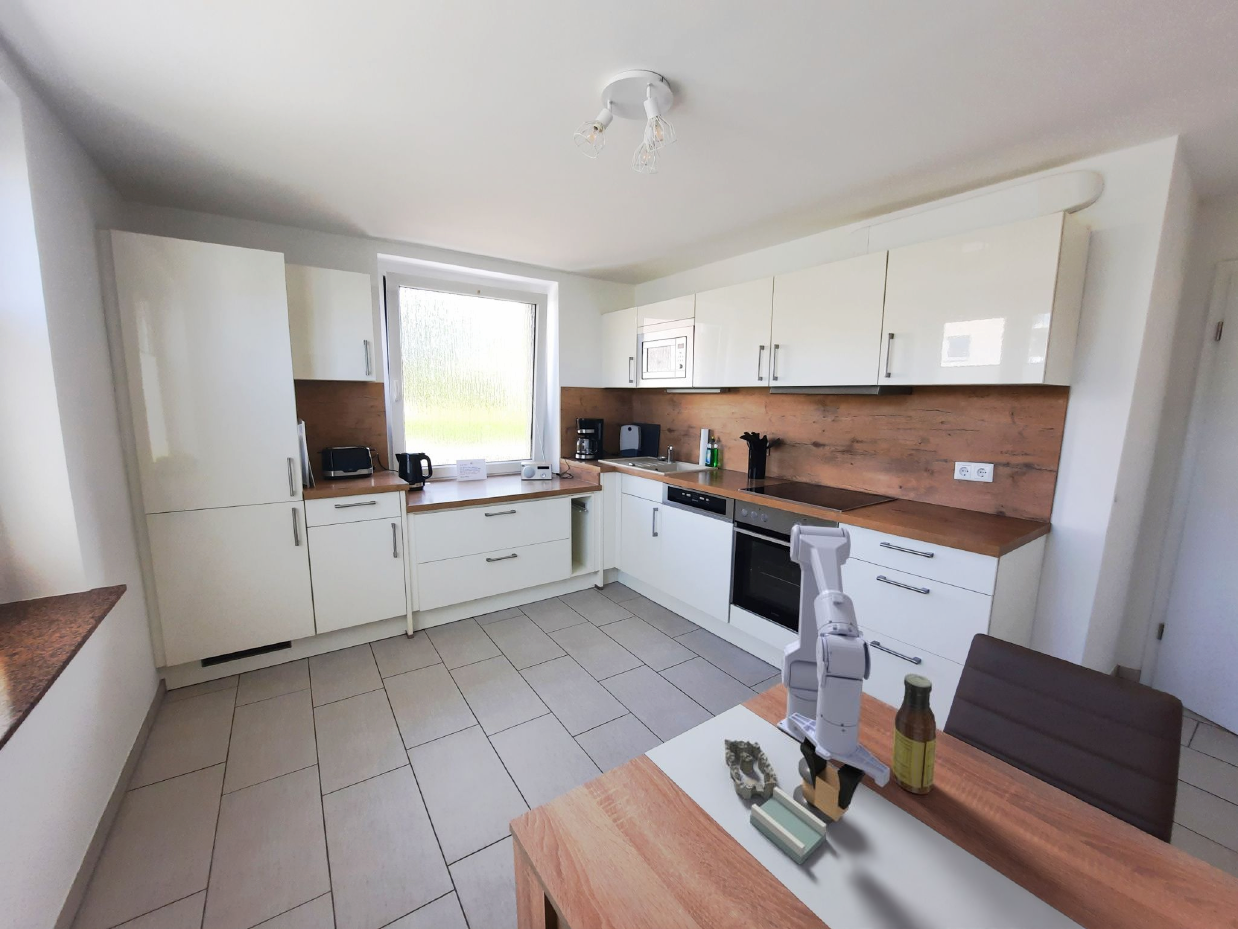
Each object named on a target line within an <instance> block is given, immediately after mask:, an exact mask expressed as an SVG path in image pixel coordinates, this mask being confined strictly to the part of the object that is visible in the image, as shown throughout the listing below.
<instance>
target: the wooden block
mask: <svg viewBox="0 0 1238 929" xmlns="http://www.w3.org/2000/svg"><path fill="white" fill-rule="evenodd" d="M834 768H835V767H834ZM834 768H832V767H831V766H829V765H828V766H827V767H826V768H825V769H824V770H823V771H821V772H820V773H819V774H818V775H817V776H816V787H815V803H814V805H815V806H816V807H817V808H819V809H820V810H821V811H823V812H824V813H826V814H827V815H828V816H830V817H831V818H832V819H834V821H835V822H838V821H839V819H841V818H842V816H844V815H845V813H847V811H849V808H850V805H849V806H848V807H847V808H846V809H845V810H843V809H841V808H840V807H839V794H840V783H839V777H838V773H837V771H838V769H836V768H835V769H836V770H835V769H834Z"/></svg>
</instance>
